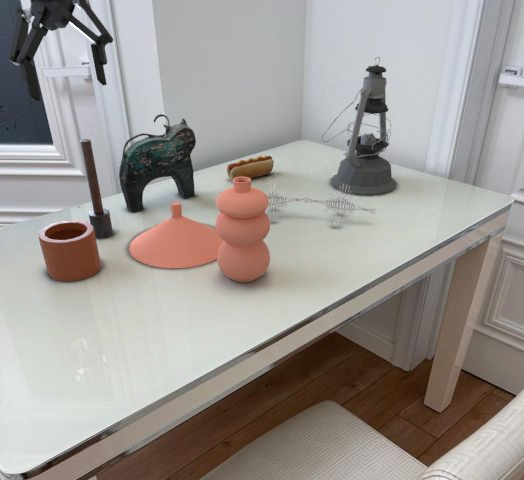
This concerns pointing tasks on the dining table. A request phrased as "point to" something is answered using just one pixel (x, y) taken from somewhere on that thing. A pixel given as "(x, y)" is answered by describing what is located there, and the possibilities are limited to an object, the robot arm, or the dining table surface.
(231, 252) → the ceramic vessels
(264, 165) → the food
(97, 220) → the pestle
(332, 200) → the test tube brush
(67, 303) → the dining table surface
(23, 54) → the robot arm
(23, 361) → the dining table surface
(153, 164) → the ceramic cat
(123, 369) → the dining table surface
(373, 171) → the lantern
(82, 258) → the jar
